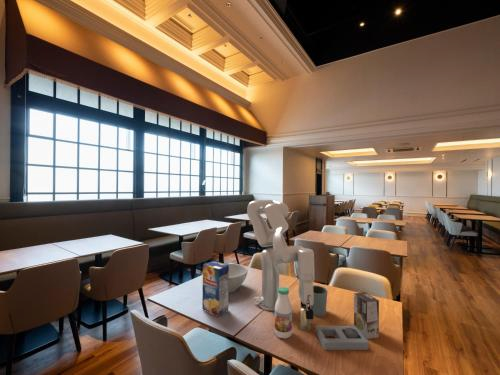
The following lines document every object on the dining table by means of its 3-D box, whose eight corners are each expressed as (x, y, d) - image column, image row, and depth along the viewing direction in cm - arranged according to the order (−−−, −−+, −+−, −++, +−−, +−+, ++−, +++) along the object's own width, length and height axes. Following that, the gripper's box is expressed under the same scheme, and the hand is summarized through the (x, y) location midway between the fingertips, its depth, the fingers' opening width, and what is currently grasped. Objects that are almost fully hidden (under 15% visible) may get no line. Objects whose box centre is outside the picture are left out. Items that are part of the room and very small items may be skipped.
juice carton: (202, 309, 123) (202, 264, 123) (212, 303, 129) (212, 261, 129) (218, 316, 116) (219, 269, 116) (228, 310, 122) (228, 265, 122)
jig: (324, 349, 93) (324, 339, 93) (316, 332, 104) (316, 323, 104) (368, 349, 93) (368, 339, 93) (355, 332, 104) (355, 323, 104)
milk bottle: (273, 328, 107) (273, 285, 107) (289, 328, 107) (289, 285, 107) (276, 339, 99) (276, 293, 99) (293, 338, 100) (294, 292, 100)
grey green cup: (327, 309, 125) (327, 286, 125) (327, 319, 115) (327, 295, 115) (308, 305, 128) (308, 284, 128) (306, 315, 118) (306, 291, 118)
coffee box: (379, 337, 101) (379, 300, 101) (366, 339, 100) (367, 302, 100) (365, 325, 110) (365, 291, 110) (353, 327, 109) (353, 292, 109)
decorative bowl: (255, 286, 153) (255, 268, 153) (230, 303, 130) (231, 281, 130) (223, 277, 167) (223, 260, 167) (196, 291, 144) (197, 272, 145)
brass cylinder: (301, 331, 105) (301, 311, 105) (299, 325, 109) (299, 306, 110) (311, 331, 105) (311, 311, 105) (308, 325, 110) (308, 306, 110)
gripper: (294, 270, 116) (294, 304, 115) (302, 283, 98) (303, 323, 98) (309, 269, 116) (309, 304, 115) (320, 282, 99) (321, 323, 98)
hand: (306, 313), depth 107 cm, fingers open, 9 cm apart
